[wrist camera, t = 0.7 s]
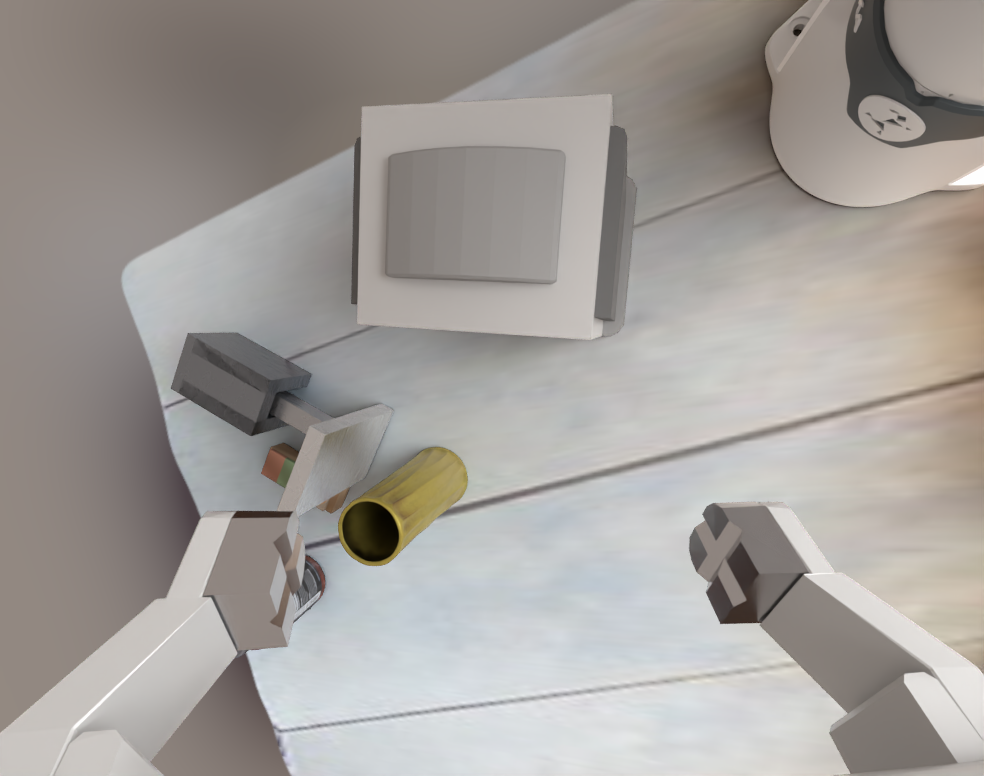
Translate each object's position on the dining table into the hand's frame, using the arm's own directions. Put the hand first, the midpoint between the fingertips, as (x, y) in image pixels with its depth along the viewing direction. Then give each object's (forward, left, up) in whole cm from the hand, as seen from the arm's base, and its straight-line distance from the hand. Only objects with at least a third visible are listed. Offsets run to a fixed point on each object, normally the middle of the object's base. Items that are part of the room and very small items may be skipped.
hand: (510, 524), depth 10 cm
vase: (+18, -6, -36) cm, 41 cm away
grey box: (-4, -12, -37) cm, 39 cm away
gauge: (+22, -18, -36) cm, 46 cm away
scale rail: (+28, -17, -36) cm, 48 cm away
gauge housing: (+23, -27, -36) cm, 51 cm away
